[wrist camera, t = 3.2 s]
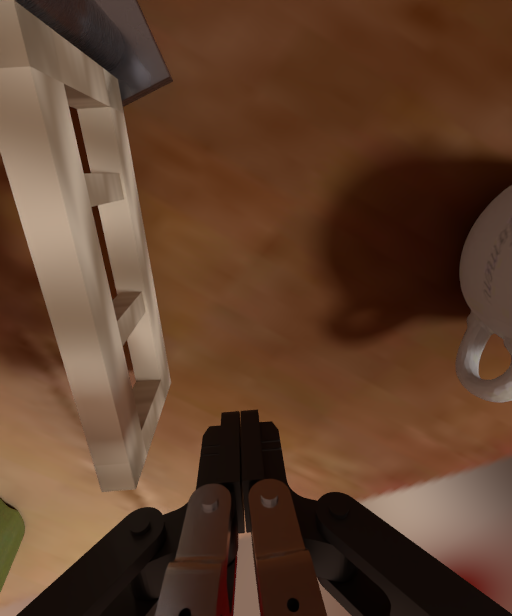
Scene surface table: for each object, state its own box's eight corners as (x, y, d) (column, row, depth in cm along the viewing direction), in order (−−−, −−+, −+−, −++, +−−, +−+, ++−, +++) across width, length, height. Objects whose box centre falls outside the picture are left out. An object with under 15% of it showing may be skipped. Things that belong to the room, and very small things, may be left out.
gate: (86, 81, 17) (-44, 2, 9) (117, 79, 17) (13, -1, 9) (148, 384, 23) (101, 491, 16) (171, 382, 23) (135, 489, 16)
